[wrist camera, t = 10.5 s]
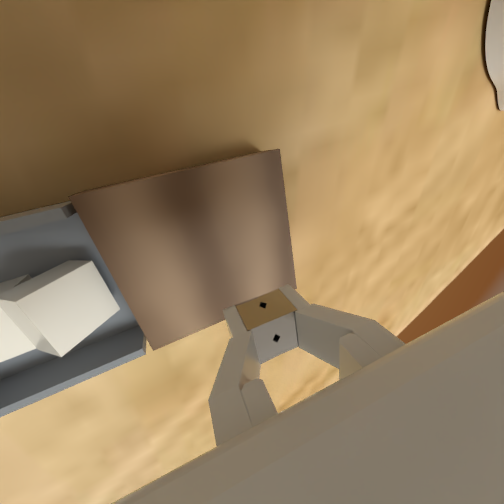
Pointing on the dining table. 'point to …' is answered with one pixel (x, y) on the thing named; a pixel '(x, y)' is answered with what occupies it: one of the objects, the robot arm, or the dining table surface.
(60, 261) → the tray
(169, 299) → the board
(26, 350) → the tile
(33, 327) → the tile
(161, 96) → the dining table surface
